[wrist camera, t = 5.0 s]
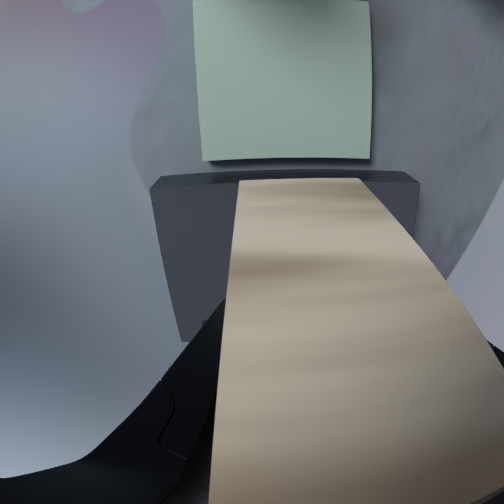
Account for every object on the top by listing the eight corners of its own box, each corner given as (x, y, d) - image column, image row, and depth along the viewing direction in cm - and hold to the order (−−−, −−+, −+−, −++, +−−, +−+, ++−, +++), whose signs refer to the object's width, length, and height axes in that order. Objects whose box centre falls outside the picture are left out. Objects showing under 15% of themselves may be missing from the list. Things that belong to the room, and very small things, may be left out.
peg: (348, 275, 14) (428, 530, 4) (246, 280, 14) (241, 561, 4) (358, 178, 11) (546, 459, 2) (239, 180, 12) (205, 548, 2)
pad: (364, 155, 19) (369, 158, 18) (205, 157, 19) (202, 161, 18) (363, 5, 14) (368, 2, 13) (195, 3, 14) (192, -1, 13)
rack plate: (378, 312, 25) (388, 333, 23) (186, 320, 25) (181, 342, 23) (403, 171, 19) (421, 183, 17) (161, 176, 20) (149, 189, 17)
